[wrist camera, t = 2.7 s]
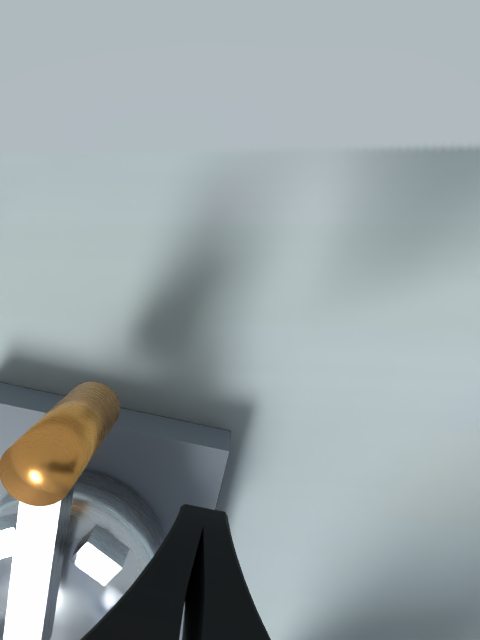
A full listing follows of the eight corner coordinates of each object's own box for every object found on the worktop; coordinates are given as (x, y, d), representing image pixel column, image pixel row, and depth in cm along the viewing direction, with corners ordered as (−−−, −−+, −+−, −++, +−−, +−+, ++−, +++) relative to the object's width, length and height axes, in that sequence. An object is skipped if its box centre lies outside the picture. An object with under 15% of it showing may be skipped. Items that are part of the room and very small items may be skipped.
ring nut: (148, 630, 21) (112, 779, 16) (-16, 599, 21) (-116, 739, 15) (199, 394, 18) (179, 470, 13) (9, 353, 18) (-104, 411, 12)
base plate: (230, 431, 21) (229, 451, 19) (181, 632, 24) (176, 667, 22) (-10, 380, 21) (-36, 395, 19) (-29, 592, 24) (-54, 624, 22)
